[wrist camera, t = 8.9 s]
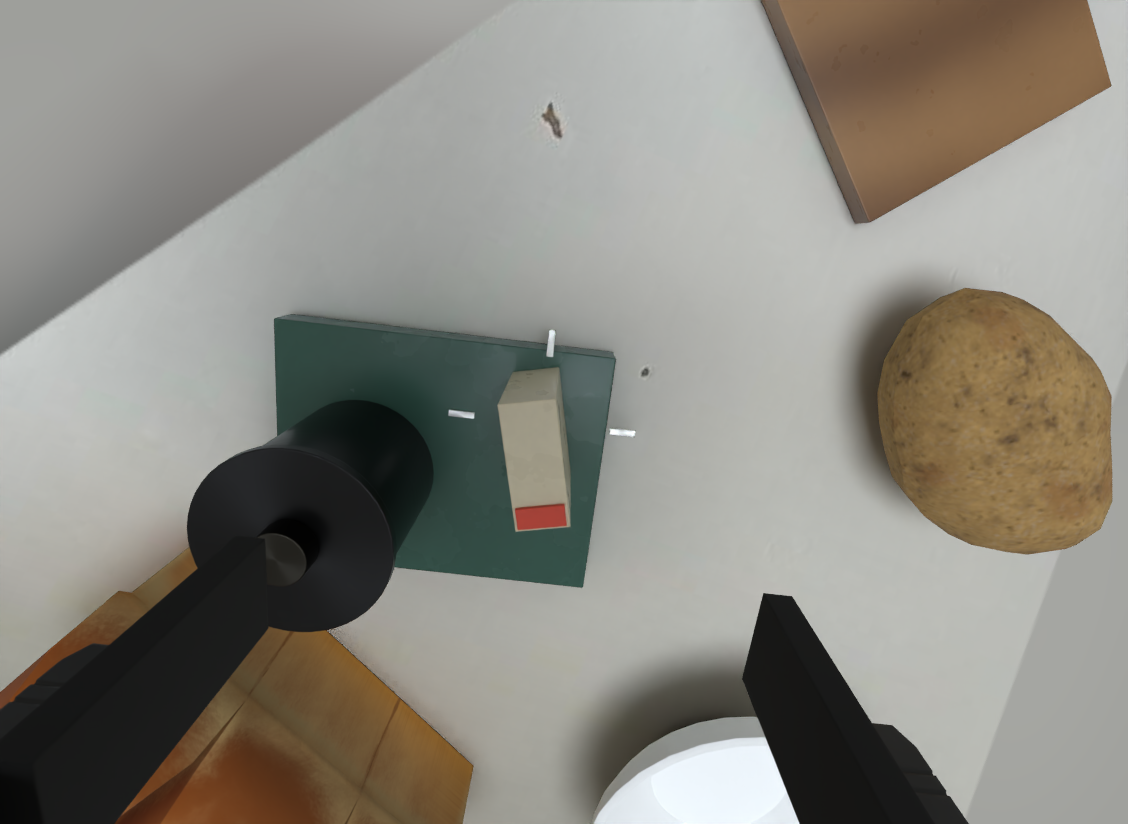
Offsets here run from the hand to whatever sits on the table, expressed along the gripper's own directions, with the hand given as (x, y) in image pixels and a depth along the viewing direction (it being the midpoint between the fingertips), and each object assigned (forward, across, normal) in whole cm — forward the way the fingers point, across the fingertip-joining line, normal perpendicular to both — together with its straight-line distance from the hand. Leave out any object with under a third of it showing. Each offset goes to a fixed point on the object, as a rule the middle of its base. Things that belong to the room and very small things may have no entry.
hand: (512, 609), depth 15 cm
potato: (+19, +22, +4) cm, 29 cm away
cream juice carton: (+17, 0, 0) cm, 17 cm away
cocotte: (+17, -10, -4) cm, 20 cm away
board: (+19, +16, +21) cm, 32 cm away
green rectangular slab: (+19, -6, -3) cm, 20 cm away
